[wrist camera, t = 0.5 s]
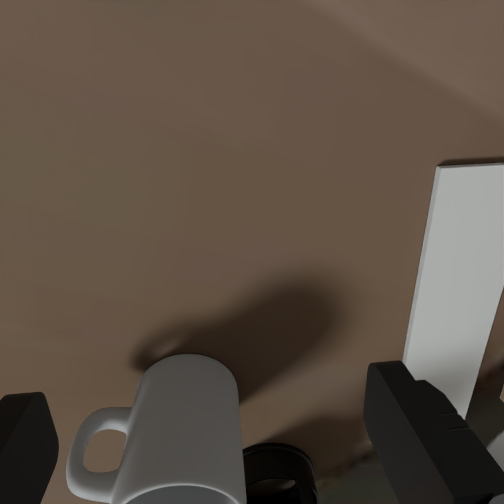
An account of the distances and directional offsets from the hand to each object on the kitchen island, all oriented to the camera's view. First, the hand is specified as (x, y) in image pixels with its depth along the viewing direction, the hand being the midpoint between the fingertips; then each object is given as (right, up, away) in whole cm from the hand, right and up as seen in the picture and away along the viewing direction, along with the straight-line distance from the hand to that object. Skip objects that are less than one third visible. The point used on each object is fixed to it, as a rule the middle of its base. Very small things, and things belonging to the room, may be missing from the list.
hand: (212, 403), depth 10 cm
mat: (+18, -2, +23) cm, 29 cm away
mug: (-6, -8, +24) cm, 26 cm away
